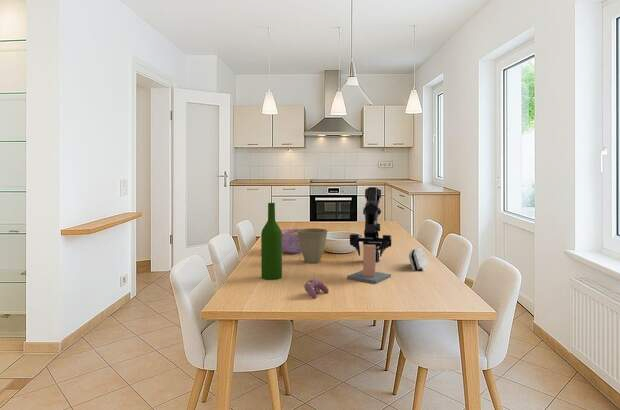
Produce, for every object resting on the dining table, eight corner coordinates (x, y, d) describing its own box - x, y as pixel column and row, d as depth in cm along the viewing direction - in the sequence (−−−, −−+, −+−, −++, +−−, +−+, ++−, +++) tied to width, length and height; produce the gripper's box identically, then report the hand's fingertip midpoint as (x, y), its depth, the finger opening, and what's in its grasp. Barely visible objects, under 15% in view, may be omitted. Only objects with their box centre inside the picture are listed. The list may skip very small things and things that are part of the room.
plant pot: (326, 258, 249) (326, 228, 247) (328, 264, 234) (328, 232, 233) (297, 258, 248) (297, 228, 247) (297, 264, 234) (297, 232, 232)
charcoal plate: (347, 278, 207) (347, 276, 207) (362, 272, 218) (362, 269, 218) (376, 283, 199) (376, 280, 199) (390, 276, 210) (390, 274, 210)
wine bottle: (272, 273, 215) (272, 201, 212) (286, 277, 209) (286, 203, 206) (257, 277, 209) (256, 202, 206) (270, 281, 202) (270, 204, 199)
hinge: (423, 271, 221) (416, 250, 222) (413, 273, 223) (406, 253, 224) (430, 264, 236) (423, 244, 237) (420, 266, 238) (414, 247, 239)
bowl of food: (278, 248, 276) (278, 228, 275) (313, 249, 274) (313, 229, 273) (272, 255, 256) (272, 234, 255) (309, 256, 254) (310, 234, 253)
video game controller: (321, 295, 187) (314, 278, 188) (330, 291, 185) (323, 274, 186) (307, 301, 179) (300, 283, 180) (316, 297, 177) (309, 280, 178)
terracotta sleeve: (363, 273, 211) (364, 244, 210) (375, 274, 210) (375, 244, 209) (363, 276, 206) (363, 246, 205) (374, 276, 206) (375, 246, 204)
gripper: (350, 216, 217) (347, 245, 207) (391, 217, 214) (391, 246, 204) (351, 230, 225) (349, 259, 216) (391, 232, 223) (391, 260, 213)
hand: (369, 255), depth 212 cm, fingers open, 9 cm apart
